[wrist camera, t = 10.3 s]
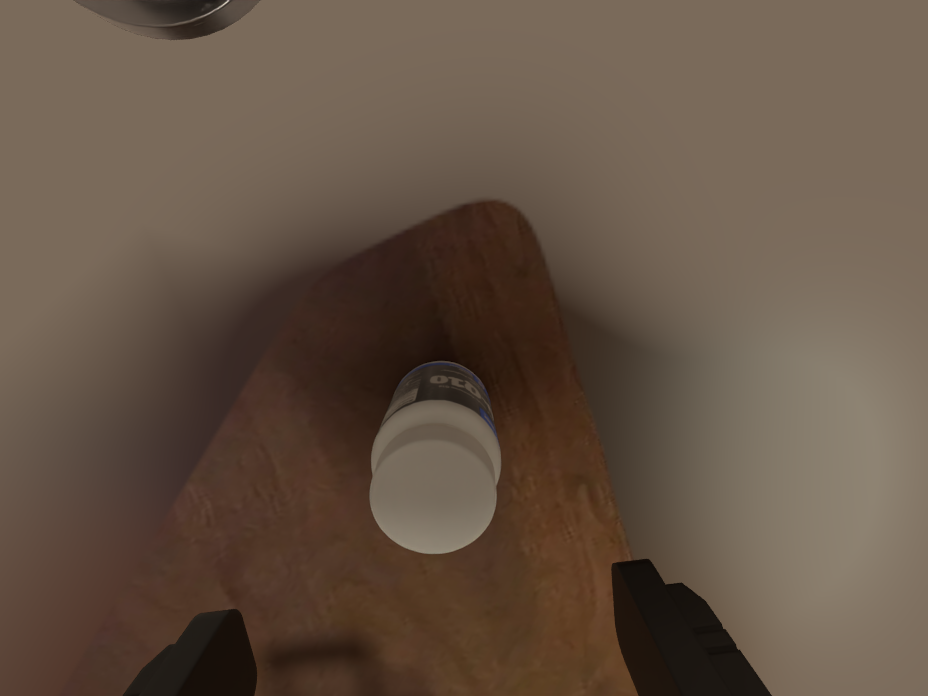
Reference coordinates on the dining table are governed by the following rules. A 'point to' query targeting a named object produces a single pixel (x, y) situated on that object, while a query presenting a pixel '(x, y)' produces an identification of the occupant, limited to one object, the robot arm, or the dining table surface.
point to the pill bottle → (436, 460)
